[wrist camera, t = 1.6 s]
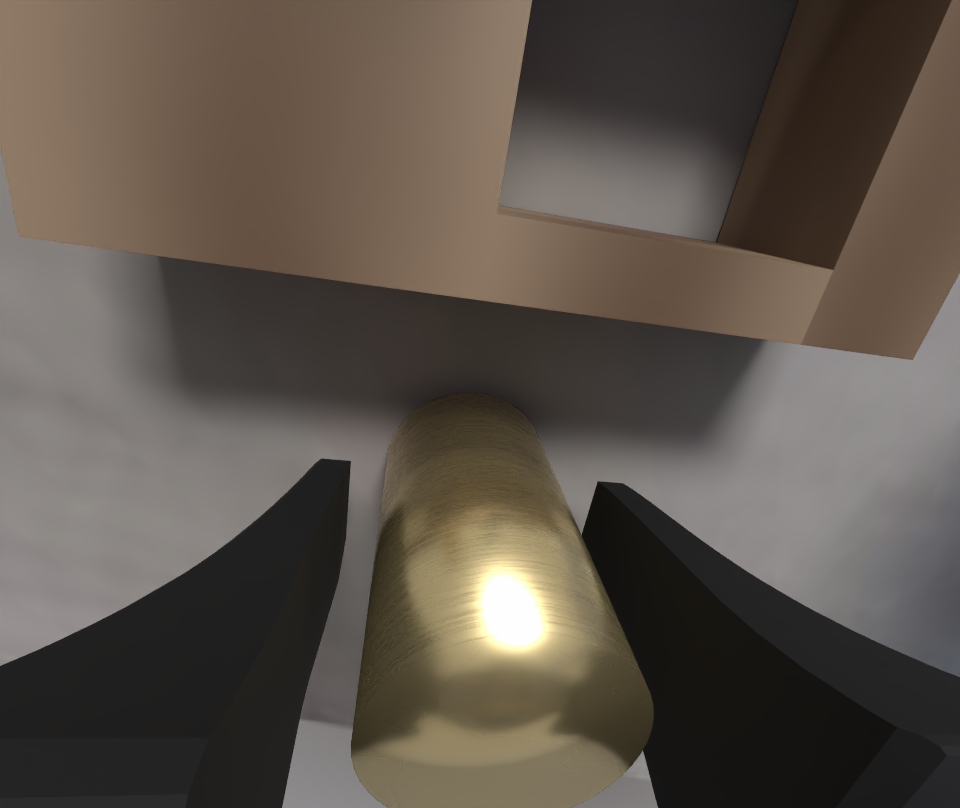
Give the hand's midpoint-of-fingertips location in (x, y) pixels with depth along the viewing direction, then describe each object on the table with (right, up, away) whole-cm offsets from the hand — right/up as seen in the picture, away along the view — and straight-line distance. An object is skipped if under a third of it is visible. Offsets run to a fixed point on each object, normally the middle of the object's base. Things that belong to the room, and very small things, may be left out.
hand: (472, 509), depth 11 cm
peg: (0, +1, +2) cm, 2 cm away
